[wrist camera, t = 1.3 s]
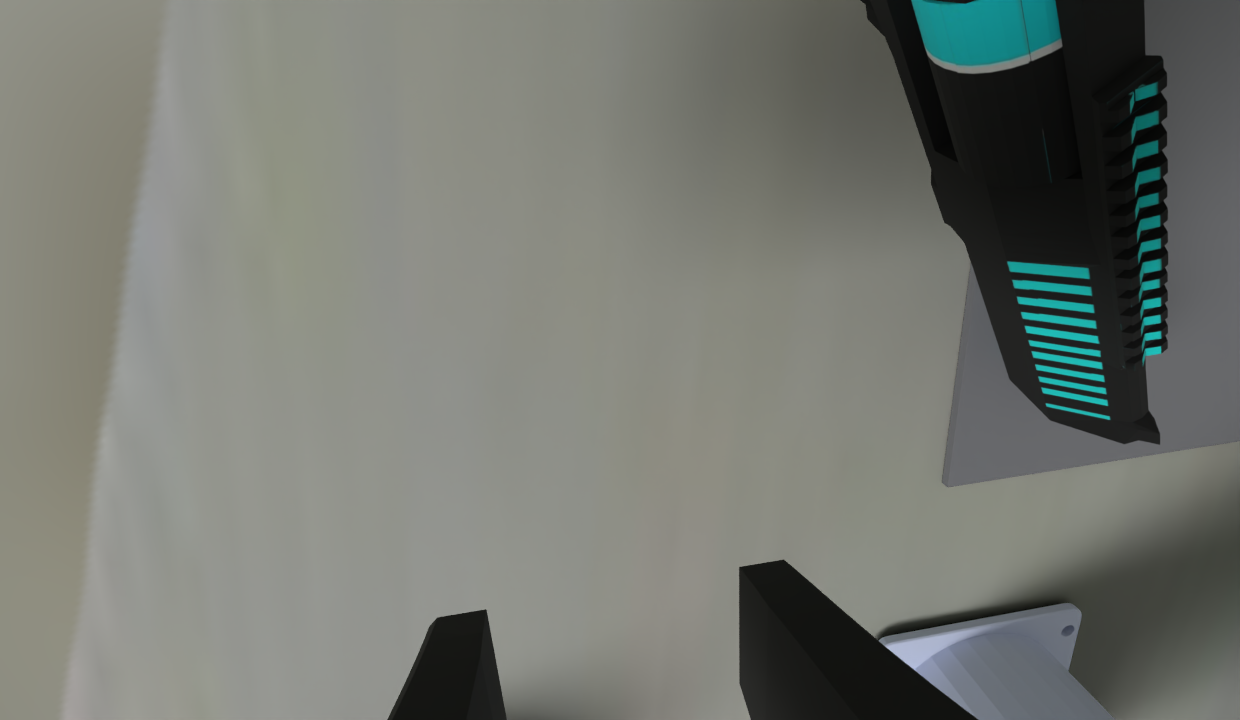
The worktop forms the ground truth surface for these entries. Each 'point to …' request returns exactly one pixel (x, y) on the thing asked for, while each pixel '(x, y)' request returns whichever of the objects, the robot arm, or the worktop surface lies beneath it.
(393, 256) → the worktop surface
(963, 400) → the mat
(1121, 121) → the toy gun
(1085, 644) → the worktop surface
